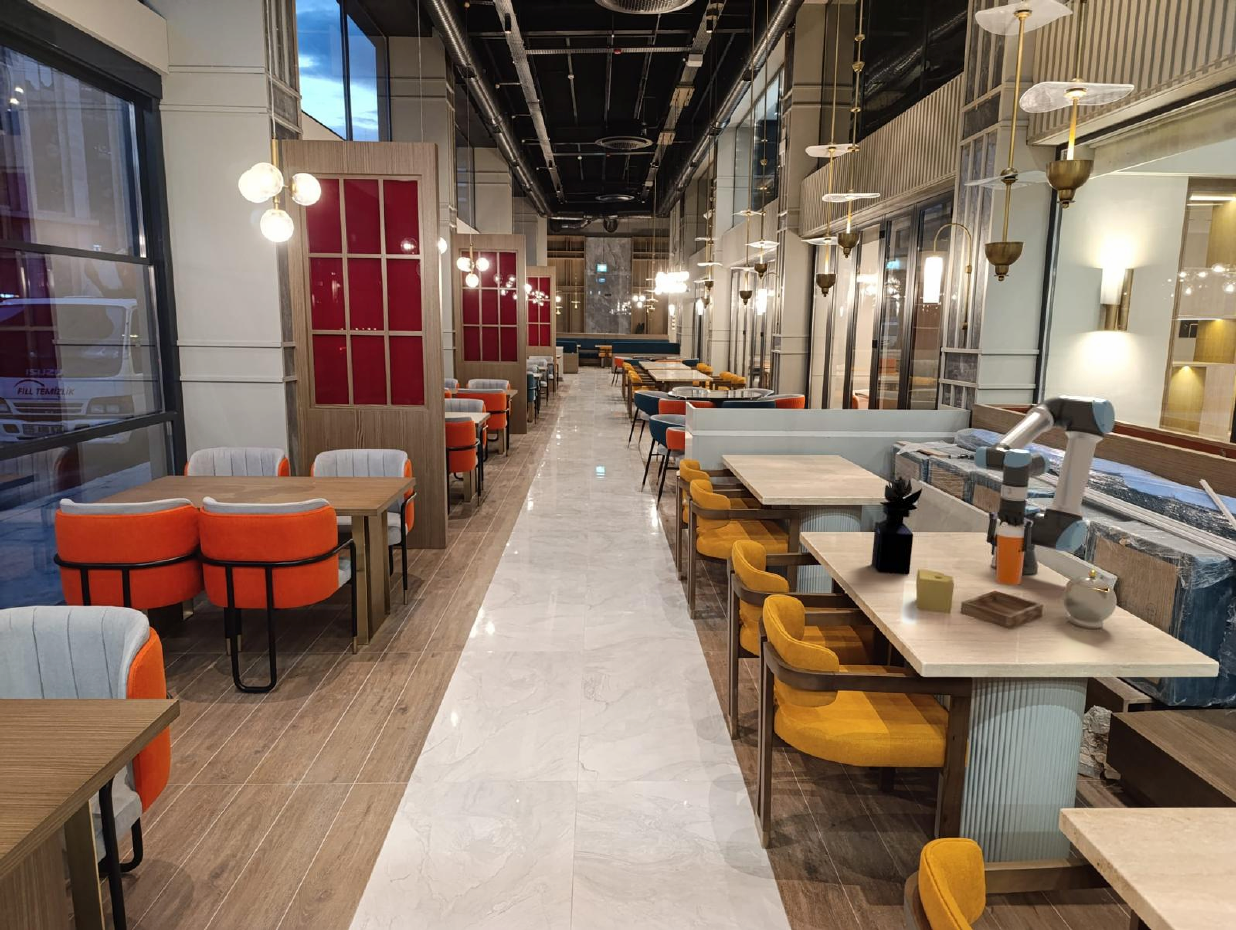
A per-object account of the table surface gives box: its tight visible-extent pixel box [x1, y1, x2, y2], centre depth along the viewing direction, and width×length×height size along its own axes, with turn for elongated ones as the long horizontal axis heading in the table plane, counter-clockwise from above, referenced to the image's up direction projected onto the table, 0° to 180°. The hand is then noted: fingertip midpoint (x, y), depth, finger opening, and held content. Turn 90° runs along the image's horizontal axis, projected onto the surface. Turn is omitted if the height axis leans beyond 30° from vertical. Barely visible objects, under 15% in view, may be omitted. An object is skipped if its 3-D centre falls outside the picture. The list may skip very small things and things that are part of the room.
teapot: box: [1062, 570, 1117, 630], centre depth 236 cm, size 18×14×16 cm
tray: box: [959, 590, 1044, 630], centre depth 241 cm, size 20×15×4 cm
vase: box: [871, 472, 923, 575], centre depth 282 cm, size 14×12×35 cm
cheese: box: [915, 568, 955, 614], centre depth 246 cm, size 10×11×10 cm
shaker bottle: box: [995, 521, 1025, 586], centre depth 256 cm, size 9×9×20 cm
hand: (1005, 567), depth 258 cm, fingers open, 6 cm apart
